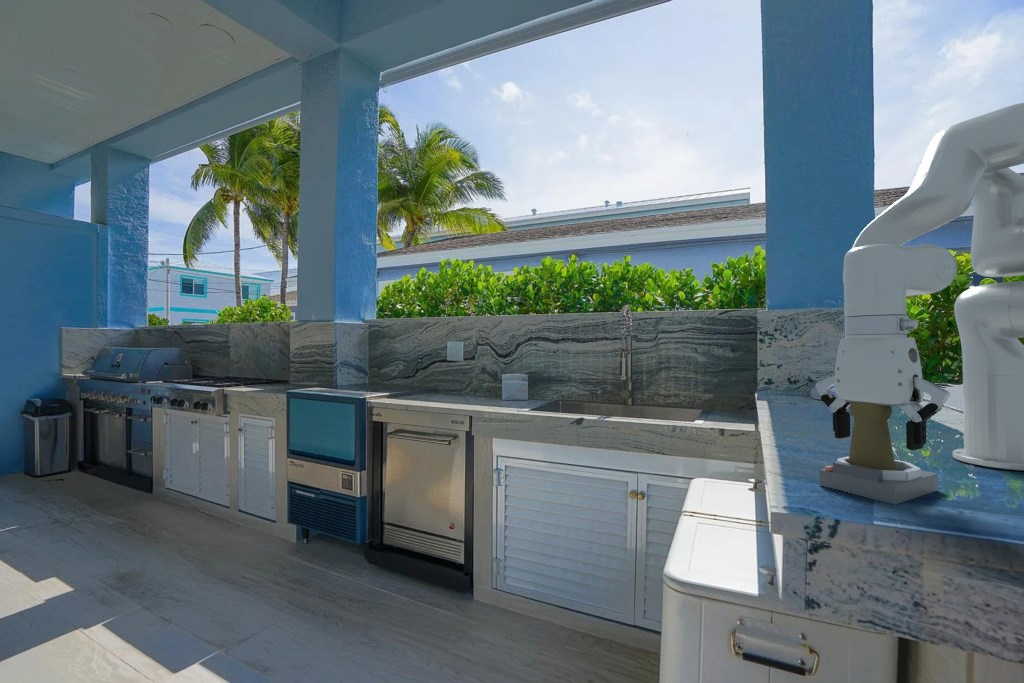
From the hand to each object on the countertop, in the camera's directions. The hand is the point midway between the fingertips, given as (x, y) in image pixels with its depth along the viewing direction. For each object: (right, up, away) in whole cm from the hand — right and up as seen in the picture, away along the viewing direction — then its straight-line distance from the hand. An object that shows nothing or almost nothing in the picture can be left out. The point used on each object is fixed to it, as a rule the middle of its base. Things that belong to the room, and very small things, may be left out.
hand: (876, 442), depth 74 cm
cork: (0, -5, +1) cm, 5 cm away
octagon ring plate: (0, -7, 0) cm, 7 cm away
